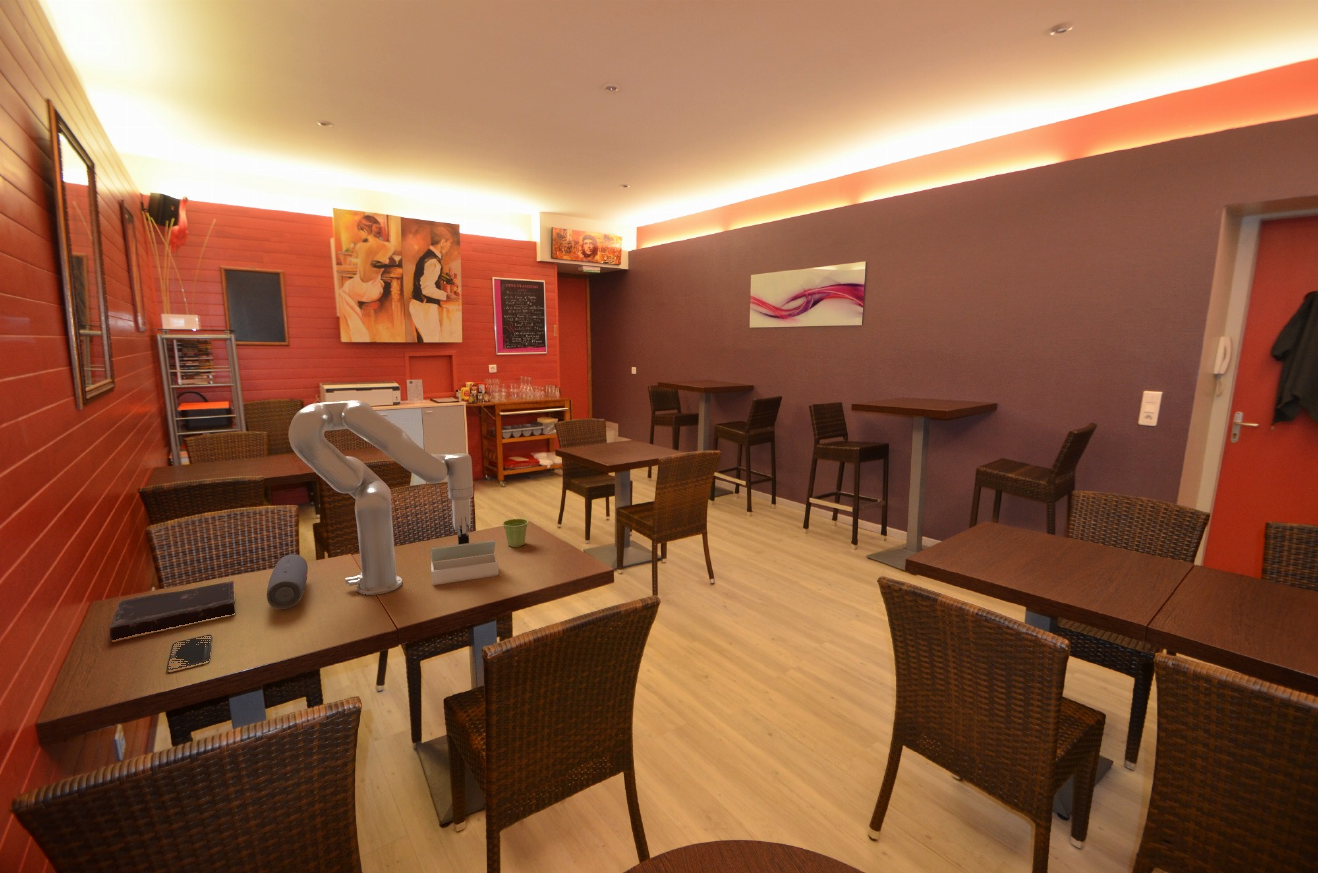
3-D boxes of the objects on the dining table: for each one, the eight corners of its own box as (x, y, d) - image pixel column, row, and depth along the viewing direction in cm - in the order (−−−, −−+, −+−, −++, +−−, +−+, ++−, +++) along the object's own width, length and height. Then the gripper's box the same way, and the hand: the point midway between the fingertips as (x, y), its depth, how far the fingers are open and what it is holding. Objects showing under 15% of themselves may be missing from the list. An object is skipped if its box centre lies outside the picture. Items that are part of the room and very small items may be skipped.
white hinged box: (432, 585, 177) (431, 571, 176) (431, 575, 184) (431, 562, 184) (498, 575, 185) (498, 562, 184) (495, 566, 192) (494, 553, 191)
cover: (430, 549, 178) (430, 548, 178) (431, 562, 184) (431, 560, 184) (495, 541, 186) (495, 539, 186) (494, 553, 191) (494, 552, 192)
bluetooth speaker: (306, 609, 161) (302, 576, 159) (266, 617, 156) (262, 582, 155) (311, 580, 181) (308, 550, 179) (276, 585, 176) (272, 555, 175)
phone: (165, 671, 129) (172, 642, 141) (166, 675, 130) (173, 646, 142) (209, 660, 134) (212, 633, 146) (210, 664, 134) (213, 637, 146)
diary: (235, 618, 157) (233, 601, 156) (111, 646, 142) (108, 628, 141) (235, 593, 172) (233, 578, 171) (122, 616, 157) (120, 599, 156)
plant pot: (502, 541, 216) (501, 519, 215) (528, 539, 219) (527, 517, 218) (503, 550, 208) (502, 527, 206) (530, 547, 210) (529, 524, 209)
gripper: (446, 487, 187) (450, 541, 190) (450, 499, 173) (453, 556, 176) (470, 485, 190) (473, 538, 193) (475, 496, 176) (478, 553, 179)
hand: (463, 546), depth 185 cm, fingers closed
